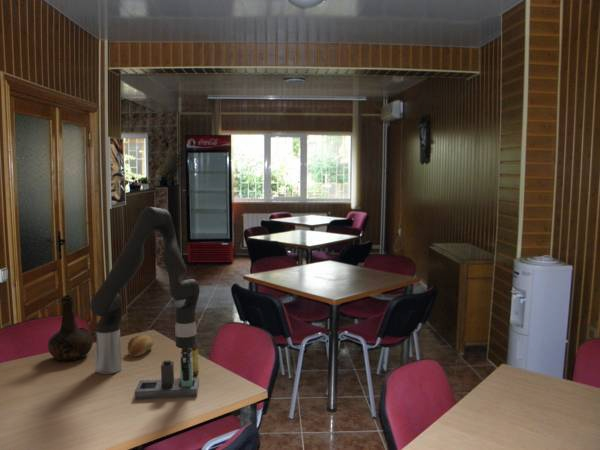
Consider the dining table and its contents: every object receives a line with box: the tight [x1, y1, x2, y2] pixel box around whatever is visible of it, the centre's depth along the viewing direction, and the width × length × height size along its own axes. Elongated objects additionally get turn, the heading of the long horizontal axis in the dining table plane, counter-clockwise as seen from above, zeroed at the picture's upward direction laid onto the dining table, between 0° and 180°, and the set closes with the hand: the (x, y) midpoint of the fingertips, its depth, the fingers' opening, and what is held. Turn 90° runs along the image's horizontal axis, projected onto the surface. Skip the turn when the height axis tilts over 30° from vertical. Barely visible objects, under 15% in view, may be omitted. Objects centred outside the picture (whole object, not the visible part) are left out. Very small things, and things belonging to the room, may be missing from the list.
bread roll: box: [127, 334, 154, 358], centre depth 230 cm, size 10×15×8 cm, turn 172°
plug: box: [179, 357, 194, 387], centre depth 188 cm, size 4×4×12 cm
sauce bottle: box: [191, 342, 200, 377], centre depth 204 cm, size 7×6×20 cm
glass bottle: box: [47, 294, 94, 362], centre depth 222 cm, size 18×18×28 cm
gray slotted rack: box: [134, 359, 200, 401], centre depth 187 cm, size 22×10×12 cm, turn 97°
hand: (186, 377), depth 188 cm, fingers closed on plug, 4 cm apart
